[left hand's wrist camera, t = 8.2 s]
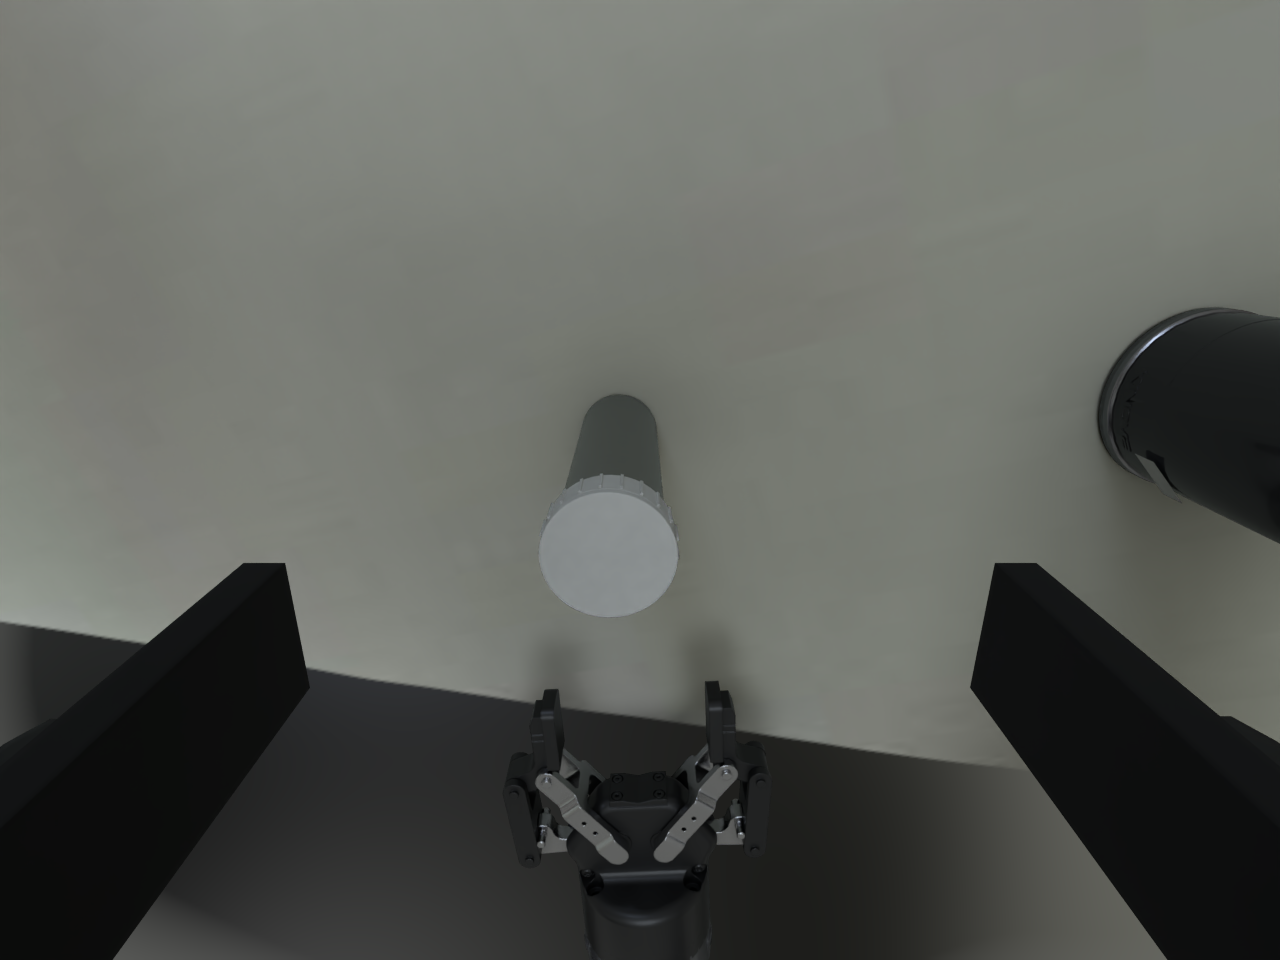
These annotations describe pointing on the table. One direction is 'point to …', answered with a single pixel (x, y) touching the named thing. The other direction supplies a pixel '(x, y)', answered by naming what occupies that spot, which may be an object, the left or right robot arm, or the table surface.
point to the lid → (609, 546)
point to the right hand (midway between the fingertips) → (631, 694)
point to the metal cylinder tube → (618, 443)
